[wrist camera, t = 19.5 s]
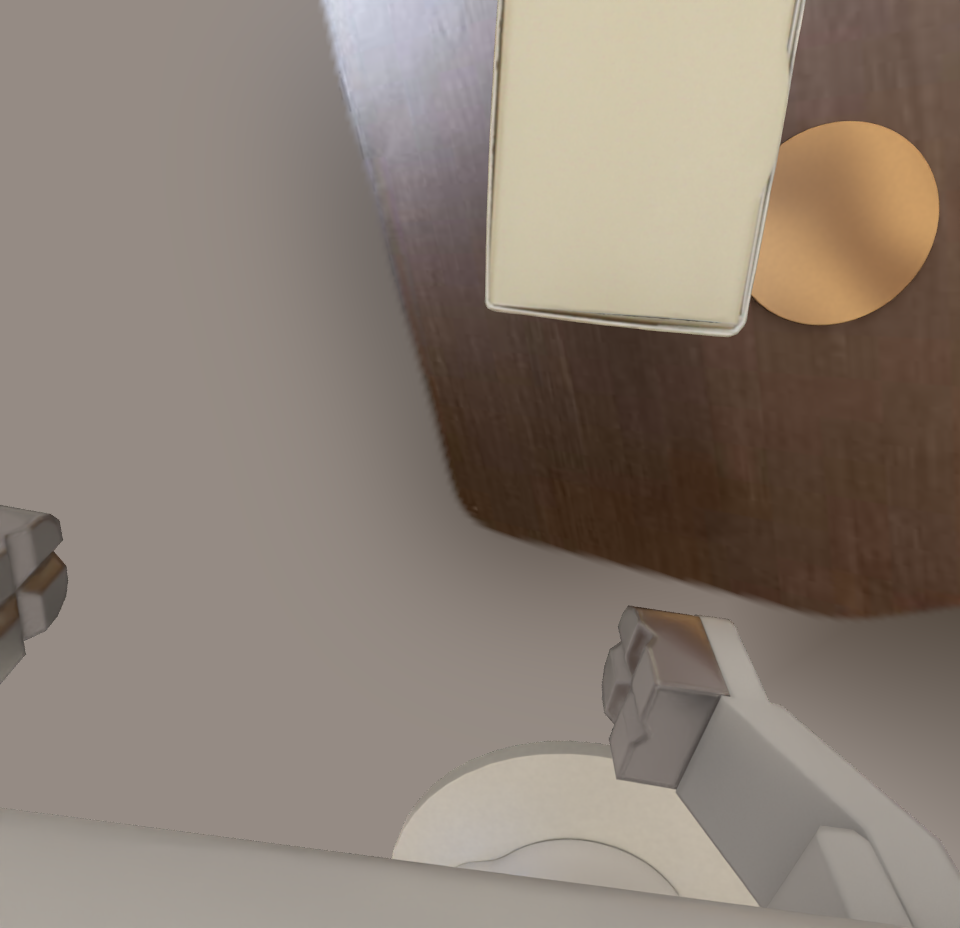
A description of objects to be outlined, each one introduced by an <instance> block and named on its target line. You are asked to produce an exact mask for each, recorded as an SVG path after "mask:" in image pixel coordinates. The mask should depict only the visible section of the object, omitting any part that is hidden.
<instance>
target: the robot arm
mask: <svg viewBox="0 0 960 928" xmlns="http://www.w3.org/2000/svg"><path fill="white" fill-rule="evenodd" d="M62 541H63V538H62V532H61V527H60V521H59V520H58V519H57V518H55V517H54V516H53V515H51V514H47V513H42V512H36V511H31V510H25V509H20V508H14V507H8V506H3V505H0V684H1V683H2V682H3V680H4V679H5V678H6V677H7V676H8V675H9V673H10V672H11V671H12V670H13V669H14V667H15V666H16V665H17V664H18V663H19V662H20V661H21V659H22V658H23V657H24V656H25V655H26V653H25V646H24V641H25V640H27V639H29V638H32V637H34V636H36V635H38V634H40V633H43V632H45V631H46V630H47V628H48V627H49V626H50V625H51V624H52V622H53V621H54V620H55V619H56V617H57V616H58V614H59V612H60V609H61V607H62V605H63V602H64V600H65V597H66V592H67V584H68V576H67V567H66V565H65V564H64V563H63V562H62V560H61V559H60V558H59V557H58V556H57V555H56V554H55V552H54V550H55V549H56V548H57V546H58V545H59V544H60V543H61V542H62ZM618 629H619V633H620V638H621V642H620V643H618V644H617V645H615V646H614V647H612V648H611V649H610V651H609V654H608V657H607V660H606V663H605V667H604V673H603V681H602V700H603V707H604V713H605V714H606V715H607V717H608V718H609V719H610V720H611V721H612V722H613V723H614V727H613V729H612V732H611V735H610V738H609V742H610V748H611V753H612V759H613V764H614V770H615V775H616V779H617V780H623V781H629V782H635V783H641V784H647V785H653V786H659V787H664V788H670V789H676V792H675V793H676V794H677V795H678V797H679V798H680V799H681V801H682V802H683V803H684V805H685V806H686V808H687V809H688V810H689V812H690V813H691V814H692V816H693V817H694V818H695V820H696V821H697V822H698V824H699V825H700V826H701V828H702V829H703V830H704V832H705V833H706V834H707V836H708V837H709V839H710V840H711V841H712V843H713V844H714V845H715V847H716V848H717V849H718V851H719V852H720V853H721V855H722V856H723V857H724V859H725V860H726V861H727V863H728V864H729V866H730V867H731V868H732V870H733V871H734V872H735V874H736V875H737V876H738V878H739V879H740V880H741V882H742V883H743V884H744V886H745V887H746V888H747V890H748V891H749V892H750V894H751V895H752V897H753V898H754V899H755V901H756V902H757V903H758V905H759V906H760V907H756V906H748V905H740V904H733V903H725V902H718V901H710V900H702V899H695V898H687V897H679V895H678V894H677V892H676V891H675V889H674V888H673V887H672V886H671V884H670V883H669V882H668V881H667V880H666V879H665V878H664V877H663V876H662V875H661V874H660V873H659V872H657V871H656V870H655V869H654V868H652V867H651V866H650V865H648V864H647V863H645V862H644V861H642V860H640V859H639V858H637V857H635V856H633V855H631V854H629V853H627V852H625V851H622V850H620V849H617V848H614V847H611V846H608V845H604V844H601V843H596V842H591V841H584V840H572V839H561V840H549V841H543V842H538V843H534V844H531V845H528V846H525V847H522V848H520V849H518V850H516V851H514V852H512V853H510V854H508V855H506V856H504V857H501V858H499V859H496V860H491V861H478V862H469V863H464V864H461V865H458V866H456V867H450V866H443V865H435V864H428V863H420V862H412V861H405V860H397V859H389V858H381V857H374V856H366V855H359V854H351V853H343V852H336V851H328V850H321V849H312V848H305V847H298V846H290V845H282V844H275V843H266V842H259V841H252V840H244V839H236V838H229V837H221V836H214V835H205V834H198V833H191V832H183V831H175V830H168V829H160V828H152V827H145V826H137V825H129V824H121V823H114V822H106V821H99V820H91V819H84V818H75V817H68V816H60V815H53V814H45V813H38V812H30V811H22V810H15V809H7V808H0V928H960V872H959V870H958V869H957V867H956V865H955V863H954V862H953V860H952V859H951V857H950V855H949V854H948V852H947V850H946V849H945V847H944V845H943V843H942V842H941V840H940V839H939V838H938V837H936V836H935V835H934V834H933V833H932V832H931V831H929V830H928V829H927V828H926V827H925V826H923V825H922V824H921V823H920V822H919V821H917V820H916V819H915V818H914V817H912V815H910V814H909V813H908V812H907V811H906V810H904V809H903V808H902V807H901V806H900V805H899V804H897V803H896V802H895V801H894V800H893V799H892V798H890V797H889V796H888V795H887V794H886V793H884V792H883V791H882V790H881V789H880V788H879V787H877V786H876V785H875V784H874V783H873V782H871V781H870V780H869V779H868V778H867V777H865V776H864V775H863V774H862V773H861V772H860V771H858V770H857V769H856V768H855V767H854V766H852V765H851V764H850V763H849V762H848V761H847V760H845V759H844V758H843V757H842V756H841V755H840V754H838V753H837V752H836V751H835V750H834V749H832V748H831V747H830V746H829V745H828V744H827V743H825V742H824V741H823V740H822V739H821V738H819V737H818V736H817V735H816V734H815V733H814V732H812V731H811V730H810V729H809V728H807V727H806V726H805V725H804V724H803V723H802V722H801V721H799V720H798V719H797V718H796V717H795V716H793V715H792V714H791V713H790V712H788V711H787V710H786V709H785V708H784V707H783V706H782V705H779V704H773V703H770V701H769V699H768V697H767V695H766V692H765V690H764V688H763V686H762V684H761V681H760V679H759V677H758V675H757V673H756V671H755V669H754V667H753V664H752V662H751V660H750V658H749V655H748V653H747V651H746V649H745V647H744V644H743V642H742V640H741V638H740V636H739V634H738V631H737V629H736V627H735V625H734V623H732V622H731V621H730V620H729V619H725V618H717V617H709V616H702V615H694V616H692V615H687V614H680V613H674V612H666V611H660V610H654V609H647V608H641V607H634V606H628V607H627V608H626V610H625V611H624V612H623V615H622V617H621V620H620V623H619V626H618Z"/></svg>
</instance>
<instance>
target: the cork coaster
mask: <svg viewBox="0 0 960 928" xmlns="http://www.w3.org/2000/svg"><path fill="white" fill-rule="evenodd" d="M938 219H939V198H938V190H937V186H936V183H935V179H934V176H933V174H932V172H931V169H930V167H929V165H928V163H927V162H926V160H925V159H924V157H923V156H922V154H921V153H920V152H919V151H918V150H917V149H916V148H915V146H914V145H913V144H912V143H910V142H909V141H908V140H907V139H905V138H904V137H903V136H901V135H899V134H898V133H896V132H894V131H892V130H890V129H888V128H885V127H883V126H880V125H877V124H872V123H868V122H859V121H841V122H833V123H828V124H823V125H820V126H817V127H814V128H810V129H808V130H806V131H804V132H801V133H799V134H797V135H795V136H794V137H792V138H790V139H789V140H787V141H785V142H784V143H782V144H781V145H780V147H779V153H778V158H777V164H776V169H775V173H774V178H773V182H772V187H771V193H770V200H769V206H768V211H767V216H766V221H765V226H764V231H763V237H762V242H761V247H760V253H759V258H758V263H757V268H756V273H755V278H754V283H753V288H752V293H751V296H752V297H753V298H754V299H755V300H756V301H757V302H758V303H759V304H760V305H761V306H763V307H764V308H765V309H767V310H768V311H770V312H772V313H774V314H775V315H777V316H780V317H782V318H785V319H787V320H790V321H793V322H797V323H801V324H809V325H831V324H838V323H843V322H847V321H851V320H855V319H857V318H860V317H862V316H865V315H867V314H869V313H871V312H873V311H875V310H877V309H879V308H880V307H882V306H883V305H885V304H886V303H888V302H889V301H891V300H892V299H893V298H894V297H895V296H897V295H898V294H899V293H900V292H901V291H902V290H903V289H904V288H905V287H906V286H907V285H908V284H909V283H910V282H911V281H912V279H913V278H914V277H915V275H916V274H917V273H918V271H919V270H920V268H921V267H922V265H923V263H924V262H925V260H926V258H927V256H928V254H929V252H930V249H931V247H932V245H933V242H934V238H935V235H936V231H937V225H938Z"/></svg>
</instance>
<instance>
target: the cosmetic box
mask: <svg viewBox="0 0 960 928" xmlns="http://www.w3.org/2000/svg"><path fill="white" fill-rule="evenodd" d="M804 6H805V0H498V5H497V19H496V31H495V49H494V64H493V87H492V99H491V123H490V141H489V165H488V195H487V238H486V285H485V304H486V307H487V308H488V309H490V310H493V311H495V312H503V313H512V314H521V315H529V316H536V317H544V318H551V319H558V320H565V321H572V322H580V323H590V324H597V325H606V326H616V327H625V328H635V329H643V330H652V331H663V332H675V333H687V334H697V335H708V336H720V337H730V336H733V335H735V334H738V332H739V331H740V330H741V329H742V328H743V327H744V326H745V323H746V320H747V315H748V309H749V304H750V298H751V293H752V288H753V283H754V278H755V273H756V268H757V263H758V258H759V253H760V247H761V242H762V237H763V231H764V226H765V221H766V216H767V211H768V206H769V200H770V193H771V187H772V182H773V178H774V173H775V169H776V164H777V158H778V153H779V147H780V141H781V136H782V130H783V125H784V119H785V114H786V108H787V102H788V97H789V91H790V85H791V79H792V73H793V67H794V61H795V55H796V50H797V44H798V39H799V33H800V28H801V23H802V17H803V12H804Z"/></svg>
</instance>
